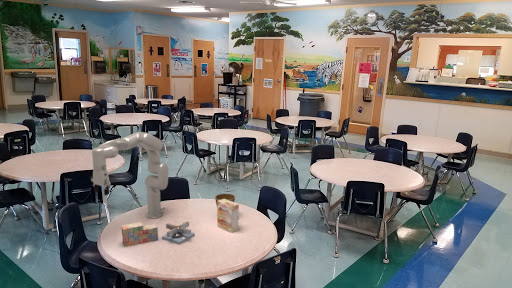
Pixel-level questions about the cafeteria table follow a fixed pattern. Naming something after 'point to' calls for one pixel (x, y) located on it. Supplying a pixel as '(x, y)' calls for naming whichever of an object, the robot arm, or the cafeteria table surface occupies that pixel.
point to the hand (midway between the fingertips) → (101, 193)
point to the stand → (179, 239)
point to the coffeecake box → (227, 215)
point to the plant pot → (225, 197)
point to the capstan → (178, 230)
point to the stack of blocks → (139, 234)
